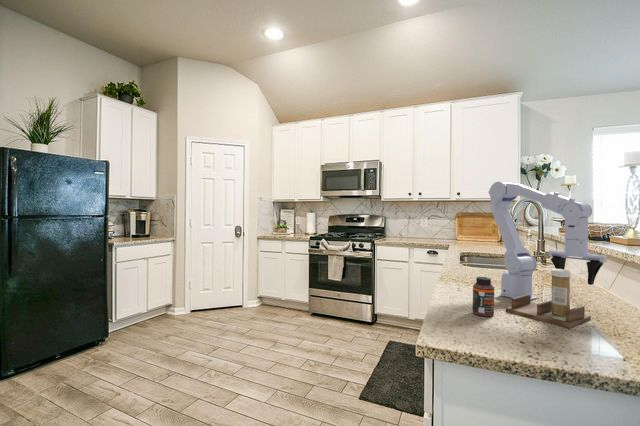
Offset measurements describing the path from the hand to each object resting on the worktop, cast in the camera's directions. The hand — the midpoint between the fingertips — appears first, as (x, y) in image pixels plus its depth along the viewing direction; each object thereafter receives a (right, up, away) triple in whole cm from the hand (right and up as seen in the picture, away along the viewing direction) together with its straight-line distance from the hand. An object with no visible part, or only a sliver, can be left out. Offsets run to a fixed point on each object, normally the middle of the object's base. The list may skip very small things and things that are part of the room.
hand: (575, 281), depth 99 cm
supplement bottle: (-31, -10, -3) cm, 33 cm away
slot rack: (-12, -10, -4) cm, 16 cm away
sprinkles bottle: (-10, -9, -6) cm, 14 cm away
